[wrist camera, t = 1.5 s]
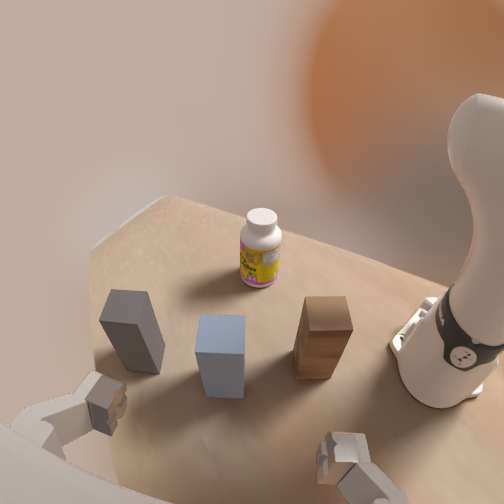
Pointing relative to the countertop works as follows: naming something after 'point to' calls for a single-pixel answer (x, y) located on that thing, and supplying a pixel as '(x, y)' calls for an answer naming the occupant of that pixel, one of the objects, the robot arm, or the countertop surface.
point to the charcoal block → (133, 330)
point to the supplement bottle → (260, 248)
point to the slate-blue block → (221, 355)
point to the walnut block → (321, 337)
